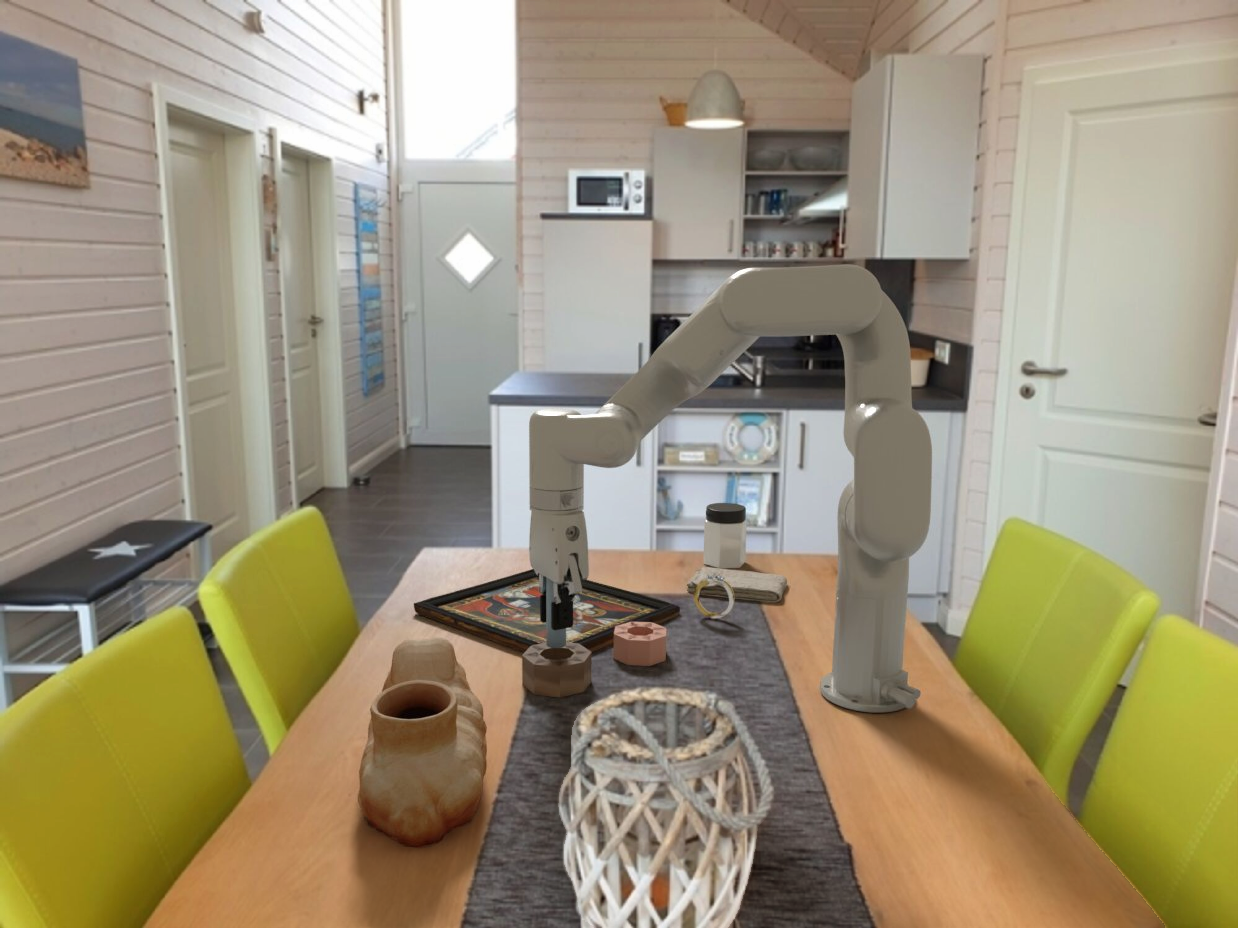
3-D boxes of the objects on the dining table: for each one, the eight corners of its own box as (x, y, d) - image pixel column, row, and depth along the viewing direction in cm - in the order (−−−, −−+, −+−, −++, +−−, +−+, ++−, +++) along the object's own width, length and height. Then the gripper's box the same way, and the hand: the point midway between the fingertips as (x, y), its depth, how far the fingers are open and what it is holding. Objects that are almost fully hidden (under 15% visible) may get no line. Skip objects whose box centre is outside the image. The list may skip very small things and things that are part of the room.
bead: (600, 687, 136) (600, 658, 135) (542, 701, 131) (542, 670, 130) (570, 665, 144) (570, 637, 143) (514, 678, 139) (514, 648, 138)
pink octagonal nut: (676, 656, 148) (677, 632, 147) (638, 669, 143) (638, 644, 142) (641, 641, 154) (642, 618, 153) (603, 653, 148) (603, 629, 148)
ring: (735, 619, 165) (737, 574, 163) (728, 624, 162) (730, 579, 160) (698, 612, 168) (699, 568, 166) (691, 617, 165) (692, 573, 164)
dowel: (569, 645, 136) (569, 564, 134) (551, 649, 134) (551, 567, 132) (560, 639, 138) (560, 559, 136) (543, 642, 137) (542, 562, 135)
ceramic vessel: (486, 731, 123) (485, 620, 120) (488, 848, 97) (486, 711, 94) (376, 737, 121) (372, 624, 118) (348, 859, 95) (342, 718, 92)
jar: (710, 555, 203) (712, 500, 201) (748, 559, 201) (750, 504, 199) (699, 566, 195) (700, 509, 193) (738, 571, 192) (740, 513, 190)
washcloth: (697, 577, 189) (697, 562, 189) (788, 586, 185) (789, 571, 184) (684, 596, 178) (684, 580, 178) (781, 605, 173) (781, 589, 173)
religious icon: (691, 610, 171) (692, 595, 170) (576, 675, 142) (576, 657, 141) (526, 574, 191) (525, 560, 191) (395, 624, 162) (395, 607, 162)
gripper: (609, 507, 127) (607, 637, 131) (554, 485, 141) (554, 603, 145) (559, 513, 124) (559, 647, 127) (507, 490, 137) (508, 611, 141)
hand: (556, 623), depth 136 cm, fingers closed on dowel, 2 cm apart
